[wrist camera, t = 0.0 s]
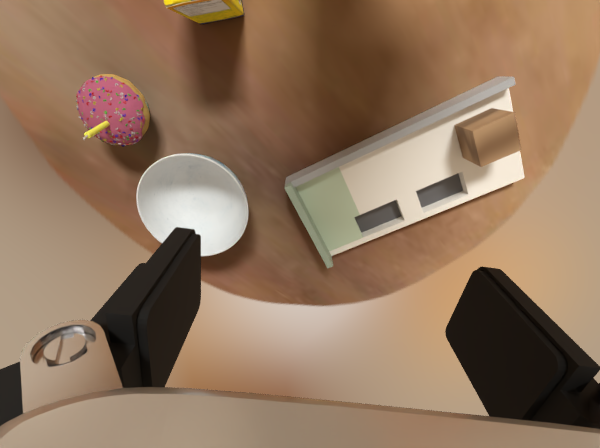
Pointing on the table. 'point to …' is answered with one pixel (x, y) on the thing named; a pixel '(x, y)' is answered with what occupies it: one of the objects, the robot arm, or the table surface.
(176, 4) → the supplement box
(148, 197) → the chinaware
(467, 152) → the walnut block
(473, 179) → the trap board
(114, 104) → the cupcake
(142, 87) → the table surface
